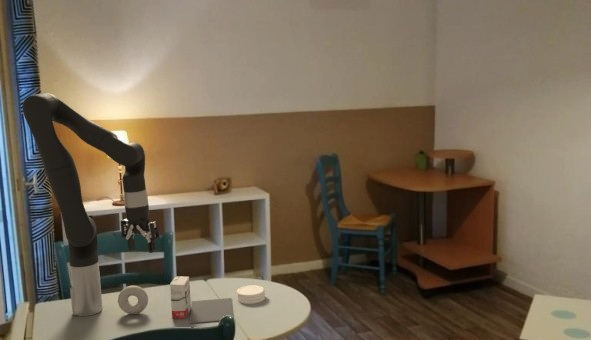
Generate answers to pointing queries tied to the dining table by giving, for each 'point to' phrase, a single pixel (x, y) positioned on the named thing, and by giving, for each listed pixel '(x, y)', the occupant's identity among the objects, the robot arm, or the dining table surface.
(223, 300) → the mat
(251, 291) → the white round lidded container
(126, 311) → the donut
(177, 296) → the ink box
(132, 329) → the dining table surface
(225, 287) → the dining table surface
